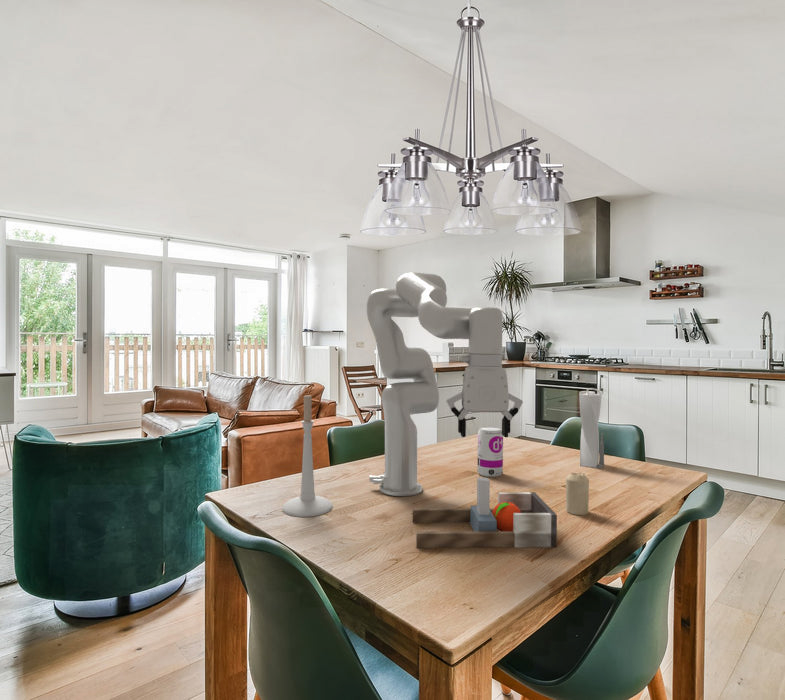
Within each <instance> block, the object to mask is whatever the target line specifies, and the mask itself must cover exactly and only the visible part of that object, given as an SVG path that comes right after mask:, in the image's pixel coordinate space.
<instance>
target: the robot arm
mask: <svg viewBox="0 0 785 700" xmlns="http://www.w3.org/2000/svg"><path fill="white" fill-rule="evenodd" d="M447 303H448V296H447V285H446V282H445V280H444V278H442V277H441V276H440V275H438V274H435V273H425V272H423V273H422V272H413V271H411V272H406V273H403V274H402V275H400V277H398V278H397V280H396V284H395V288H391V287H390V288H389V287H387V288H386V287H385V288H378V289H374V290H373V291H372V292H371V293H370V294H369V296H368V298H367V303H366V316H367V321H368V323H369V325H370V326H369V327H370V328H371V330H372V332H373V335H374V339H375V343H376V350H377V354H378V355H377V356H378V359H379V364H380V365H379V366H380V370H381V373H382V375H383V376H384V378H386V379H388V380H410V379H411V380H413V381H403V382H401V381H398V382H393V383H390V384H388V385H387V386H385V387H384V388H383V390H382V393H381V404H382V405H381V406H382V411H383V417H384V472H383V474H380V475H369V483H372V484H374V485H377V484H378V485H379V486H378V487H379V488H378V489H379V491H380V492H381V493H382V494H385V495H388V496H394V497H408V496H409V497H410V496H411V497H412V496H414V495H418V494H420V493H421V492H422V491H423V485H422V484H421V483H420V482H418V429H417V426H416V424H415V422H414V420H413V418H412V417H411V416H412V415H416V414H417V415H418V414H427V413H428V414H429V413H432V412H434V411H435V410H436V409H437V408H438V407H439V403H440V394H439V388H438V383H437V378H436V374H435V369H434V365H433V361H432V358H431V356H430V354H429V353H428V351H427V350H426V349H424V348H421V347H408V346H407V345H406V343H405V338H404V334H403V331H402V329H401V328H400V327H399V325H398V324H397V322H395V321H394V320H393V319H392V317H394V318H418V320H419V321H418V322H419V324H420V325H421V327H422V328H423V329H424V330H426V331H427V332H428V333H429V334H431V335H433V336H434V337H436V338H439V339H443V340H468V353H467V355H465V356H462V358H461V362H462V363H465V364H467V367H465V368H464V369H465V370H464V373H463V378H462V379H463V380H462V387H461V388H462V389H461V391H460V392H459V393H456V394H454V395H453V396H451V397H449V398H447V399H446V403H447V405H448V407H449V409H450V412H452V413H453V415H454V416H455V417H457V420H458V421H457V431H458V433H459V434H460V436H461V437H462V438H465V437H467V436H466V434H467V428H466V427H467V420H466V418H465V417H466V416H467V415H468V413H501V414H502V416H503V417H502V419H501V431H502V435H503V438H509V434H510V433H511V420H513V418H514V417H515V416H516V415H517V414H518V413H519V410H520V409H521V407H522V404H523V403H524V402H523V400H522V399H521V398H519V397H517V396H515V395H513V394H512V393H509V383H508V375H507V370H506V367H503V323H504V322H503V320H504V319H503V312H502V310H501V309H500V308H498V307H489V306H488V307H487V306H486V307H481V306H479V307H472V308H471V307H470V308H469V307H450V306H449V307H448V306H446V305H447ZM460 400H461V406H462V407H461V409H460V410H458V408H456V405H455V403H456V402H458V401H460ZM509 401H511V402H513V403H514V404H513V406H512V407H511V408H510V409H509V405H510V403H509Z"/></svg>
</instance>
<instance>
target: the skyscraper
mask: <svg viewBox="0 0 785 700" xmlns="http://www.w3.org/2000/svg"><path fill="white" fill-rule="evenodd" d="M590 390H593V391H590ZM596 391H597V392H598V393H596ZM578 394H579V397H578V398H579V414H580V415H579V416H580V422H581V423H580V424H581V429H580V443H579V444H580V445H579V466H580V467H584V468H592V469H600V470H602V469H603V468H604V466H605V442H604V432H603V429H601V434H600V433H599V425H598V424H599V420H600V416H601V415H600V414H601V407H602V405H601V404H602V393H601V391H600V390H599V389H597V388H594V387H589V388H587V389H586V390H583V391H579V393H578Z"/></svg>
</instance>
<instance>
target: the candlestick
mask: <svg viewBox="0 0 785 700" xmlns="http://www.w3.org/2000/svg"><path fill="white" fill-rule="evenodd" d="M312 409H313V408H312V395H309V394H307V395H304V396H303V420H301V421H300V422H301V424H302V429H303V431H304V433H303V447H302V449H303V450H302V462H301V463H302V467H301V483H300V484H301V485H300V496H296V497H293V498H290V499H289V500H287V501H286V502H285V503H284V504H283V506H282V512H283V513H285V514H286V515H289V516H293V517H297V518H298V517H299V518H300V517H301V518H302V517H303V518H304V517H305V518H309V517H315V516H316V517H317V516H321V515H323V514H324V515H325V514H327V513H329V512H330V511H331V510H332V509H333V503H332V502H331V500H329V499H328V498H326V497H324V496H320V495H316V493H315V483H314V481H315V479H314V477H315V476H314V463H313V462H314V458H313V439H312V435H313V434H312V433H311V432H312V429H313V427H314V425H313V423H315V420H313V419H312Z"/></svg>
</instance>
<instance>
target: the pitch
mask: <svg viewBox="0 0 785 700" xmlns="http://www.w3.org/2000/svg"><path fill="white" fill-rule="evenodd" d="M497 499H498V500H497V505H498V504H500V503H502V502H510V503H513V504H514V505H516V506H517V507H518V508H519V510H520V511H521V513H514V517H513V531H499V530H497V531H474V530H469V531H468V530H467V531H466V530H465V531H464V530H463V531H457V530H455V531H450V530H449V531H443V530H441V531H433V530H432V531H427V530H426V531H424V530H423V531H416V534H415V535H416V536H415V537H416V538H415V540H416V541H415V545H416V548H417V549H419V548H421V549H422V548H423V549H425V548H427V549H428V548H429V549H431V548H432V549H433V548H435V549H436V548H438V549H439V548H443V549H445V548H448V549H449V548H451V549H452V548H456V549H457V548H466V549H467V548H469V549H470V548H557V537H558V536H557V535H558V534H557V531H558V529H557V528H558V525H557V524H558V515H557V513H556V512H555V511H554V510H553V509H552V508H551V507H550V506H549V505H548V504H547V503H546V502H545V501H544V500H543V499H542V498H541V497H540V496H539V495H538V494H537V493H536V492H535V491H533V492H531V491H530V492H529V491H527V492H525V491H524V492H523V491H522V492H521V491H519V492H518V491H516V492H515V491H514V492H513V491H511V492H509V491H508V492H507V491H505V492H504V491H503V492H501V491H500V492H498V493H497ZM489 509H490V511H491V512H493V509H494V508H489ZM411 519H412V523H413V524H414V523H415V524H416V523H418V524H421V523H425V524H426V523H429V524H430V523H431V524H432V523H433V524H434V523H439V524H440V523H442V524H443V523H446V524H448V523H465V524H466V523H470V508H412V517H411Z"/></svg>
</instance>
